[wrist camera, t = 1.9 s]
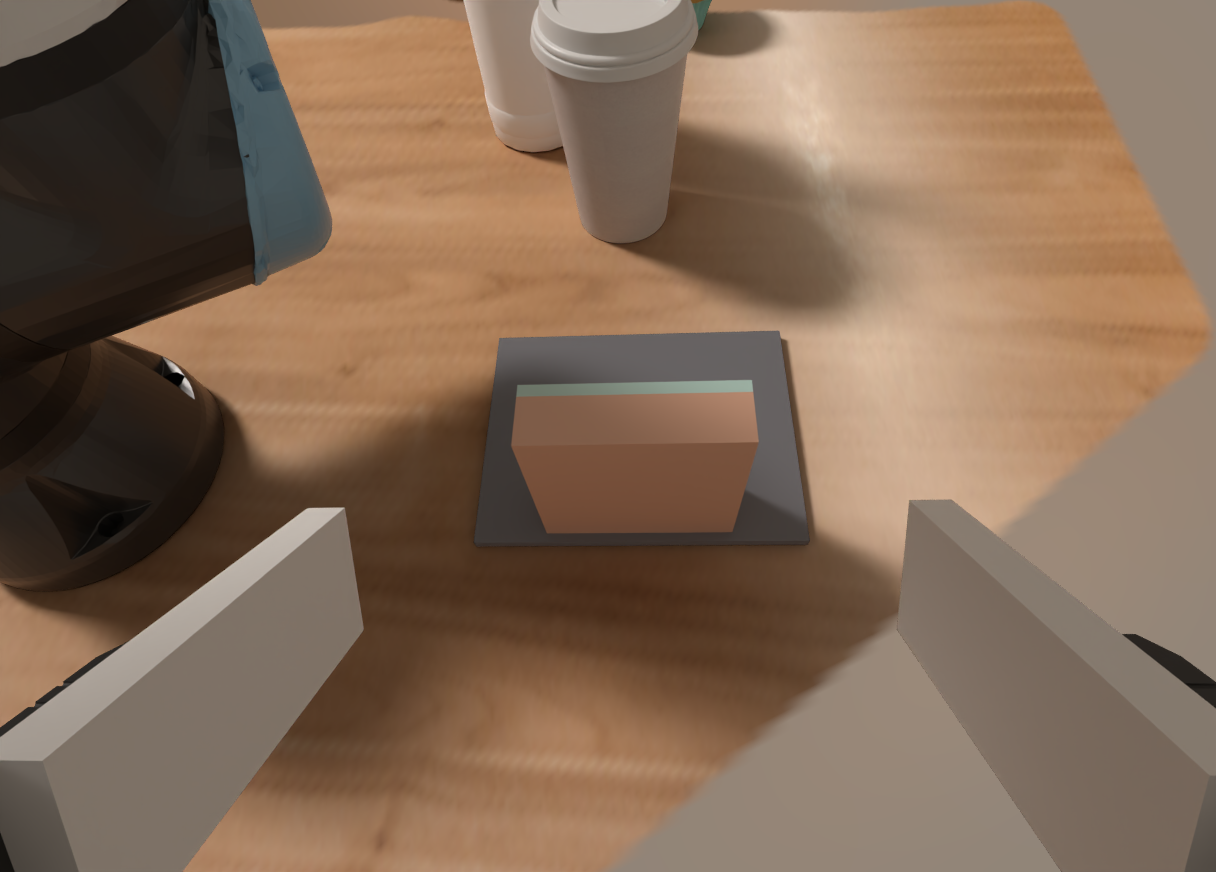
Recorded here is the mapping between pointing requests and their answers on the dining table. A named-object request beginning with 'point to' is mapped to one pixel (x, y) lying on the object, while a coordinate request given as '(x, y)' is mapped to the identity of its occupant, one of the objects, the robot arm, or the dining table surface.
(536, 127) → the bottle
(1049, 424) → the dining table surface
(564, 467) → the tile
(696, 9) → the cupcake
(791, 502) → the mat
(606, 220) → the coffee cup
